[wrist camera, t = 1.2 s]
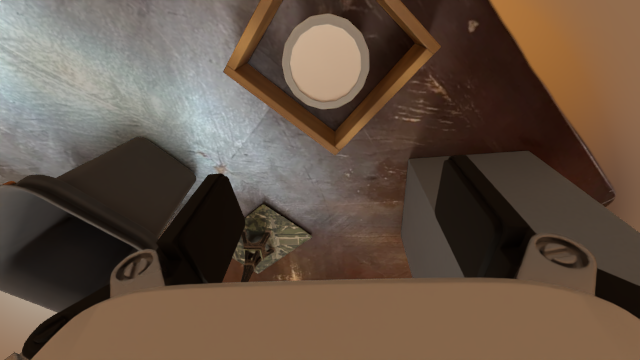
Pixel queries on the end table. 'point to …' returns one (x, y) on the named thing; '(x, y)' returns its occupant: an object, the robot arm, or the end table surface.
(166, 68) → the end table surface
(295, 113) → the wooden frame
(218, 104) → the end table surface
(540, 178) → the block
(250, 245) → the eiffel tower figurine
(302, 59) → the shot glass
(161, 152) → the storage bin
